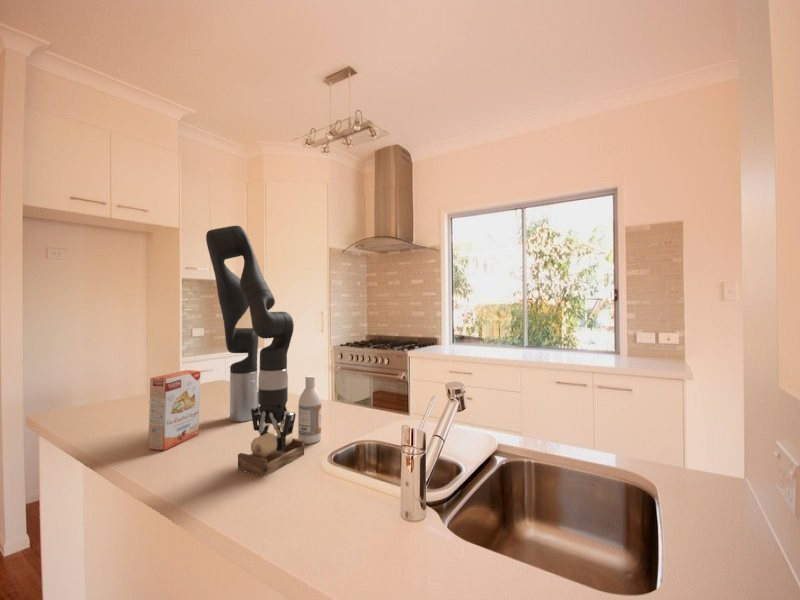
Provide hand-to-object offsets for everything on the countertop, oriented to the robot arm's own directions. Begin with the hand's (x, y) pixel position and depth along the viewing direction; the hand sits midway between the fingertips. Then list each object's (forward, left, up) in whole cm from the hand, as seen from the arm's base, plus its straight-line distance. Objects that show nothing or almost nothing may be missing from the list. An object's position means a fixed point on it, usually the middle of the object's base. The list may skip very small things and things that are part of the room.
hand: (272, 448), depth 101 cm
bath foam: (-17, -1, -4) cm, 17 cm away
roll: (0, 0, -1) cm, 1 cm away
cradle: (0, 0, -4) cm, 4 cm away
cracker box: (+2, -37, -4) cm, 37 cm away
